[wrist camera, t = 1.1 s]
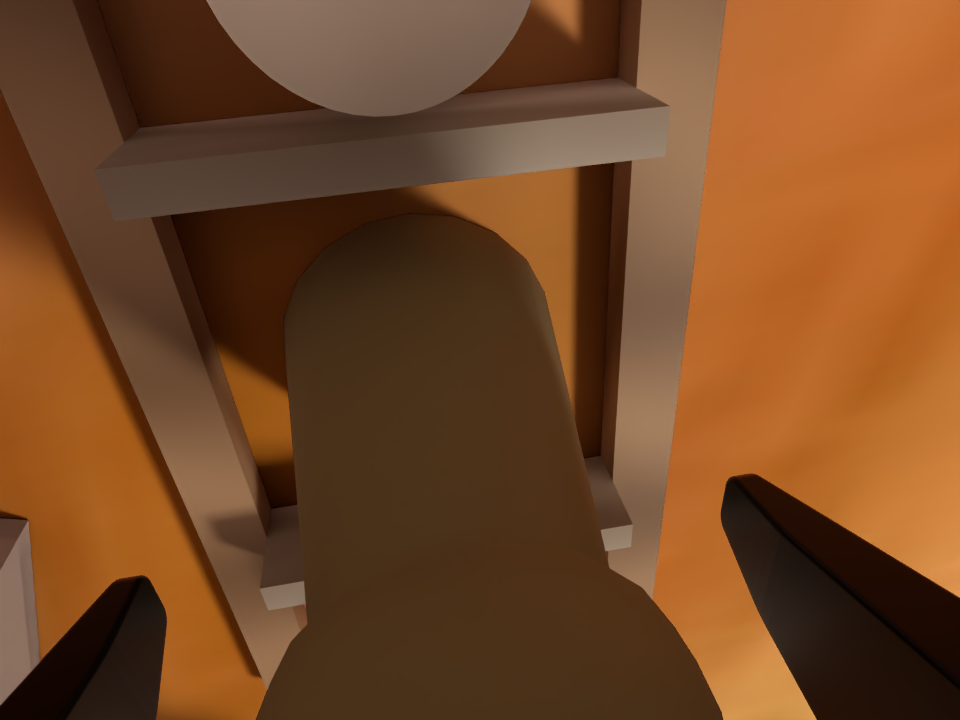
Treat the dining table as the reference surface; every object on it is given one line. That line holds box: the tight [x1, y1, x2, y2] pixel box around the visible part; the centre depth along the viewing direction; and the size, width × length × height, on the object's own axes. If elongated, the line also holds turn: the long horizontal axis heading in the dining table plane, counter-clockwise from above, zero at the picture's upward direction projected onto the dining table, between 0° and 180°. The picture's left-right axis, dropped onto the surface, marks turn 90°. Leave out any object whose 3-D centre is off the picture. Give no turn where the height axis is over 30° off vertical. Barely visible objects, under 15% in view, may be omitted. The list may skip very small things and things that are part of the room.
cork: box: [256, 213, 723, 720], centre depth 10 cm, size 6×6×11 cm
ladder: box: [0, 0, 726, 690], centre depth 14 cm, size 24×12×2 cm, turn 4°
